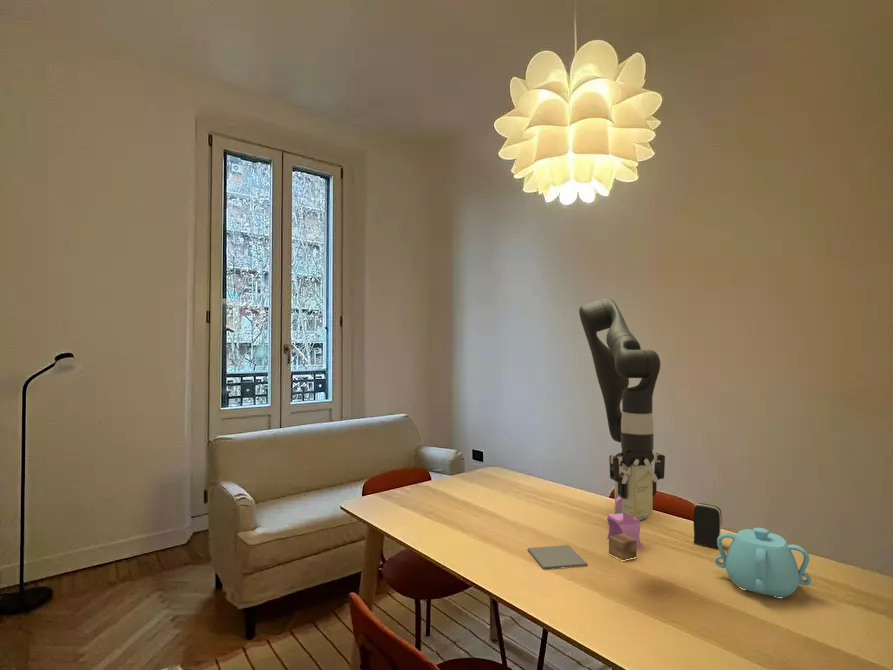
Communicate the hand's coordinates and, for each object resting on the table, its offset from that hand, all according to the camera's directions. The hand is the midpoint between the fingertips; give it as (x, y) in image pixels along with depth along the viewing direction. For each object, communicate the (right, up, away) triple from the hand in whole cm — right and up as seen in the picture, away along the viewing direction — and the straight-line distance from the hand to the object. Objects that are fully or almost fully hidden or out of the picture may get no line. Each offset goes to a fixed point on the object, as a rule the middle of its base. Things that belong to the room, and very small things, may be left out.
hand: (637, 496), depth 127 cm
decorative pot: (+28, -20, -5) cm, 34 cm away
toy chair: (+4, -20, +20) cm, 29 cm away
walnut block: (0, -20, +11) cm, 23 cm away
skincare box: (0, -4, 0) cm, 4 cm away
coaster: (-18, -20, +10) cm, 28 cm away
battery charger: (+27, -20, +19) cm, 39 cm away
